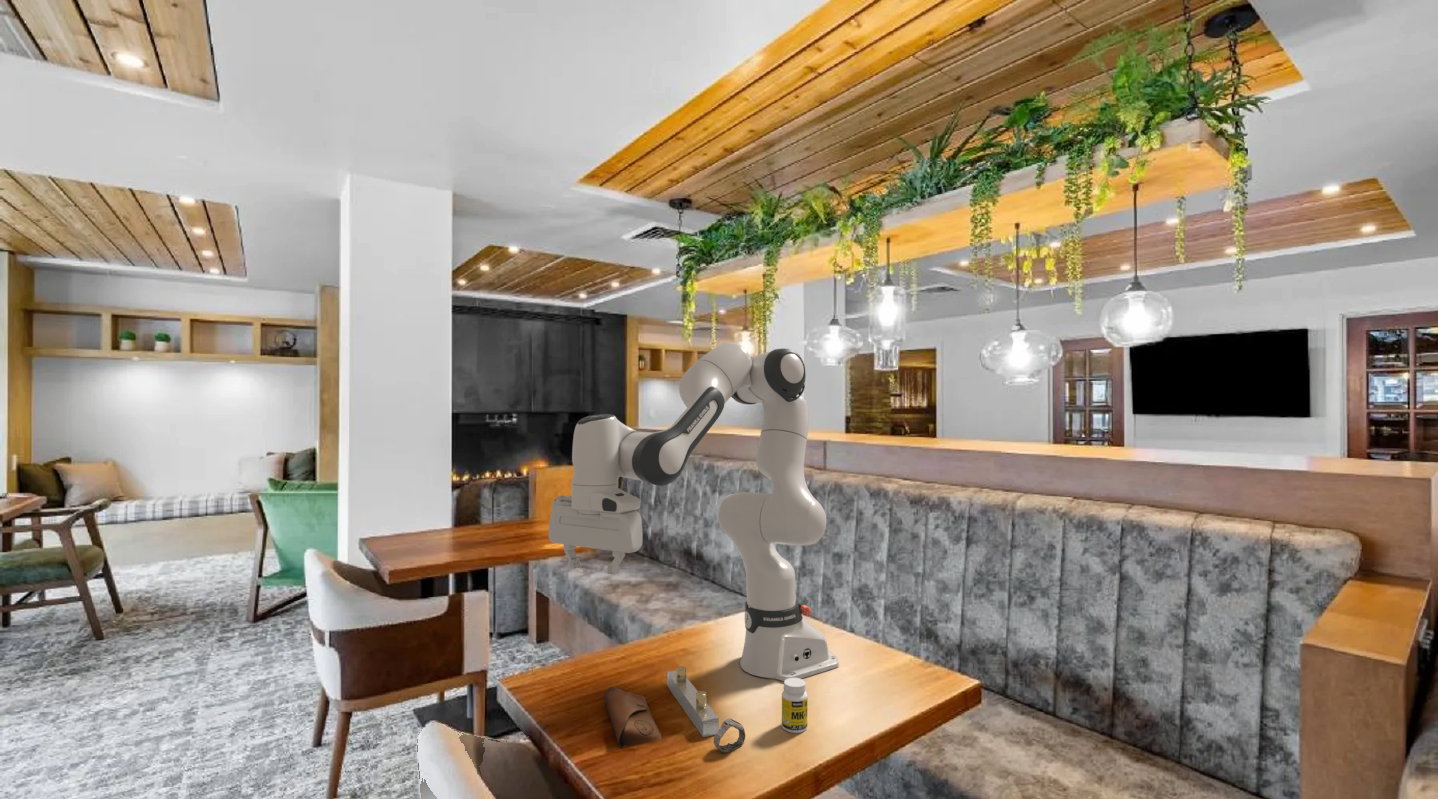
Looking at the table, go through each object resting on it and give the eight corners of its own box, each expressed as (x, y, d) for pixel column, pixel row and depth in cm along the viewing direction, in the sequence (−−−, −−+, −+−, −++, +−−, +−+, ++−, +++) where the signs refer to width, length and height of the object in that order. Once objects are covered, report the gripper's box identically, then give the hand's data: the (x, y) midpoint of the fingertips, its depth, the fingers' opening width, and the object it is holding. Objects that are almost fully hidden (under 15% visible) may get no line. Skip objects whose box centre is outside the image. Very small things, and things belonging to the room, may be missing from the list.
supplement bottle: (791, 736, 117) (791, 690, 117) (776, 724, 121) (776, 679, 121) (812, 729, 119) (812, 684, 119) (797, 718, 123) (797, 674, 123)
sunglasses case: (666, 739, 116) (647, 710, 114) (633, 766, 114) (613, 737, 113) (644, 695, 133) (628, 669, 131) (615, 717, 131) (598, 692, 130)
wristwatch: (749, 746, 113) (749, 718, 113) (721, 759, 110) (721, 729, 110) (736, 738, 116) (736, 710, 116) (708, 750, 112) (708, 721, 112)
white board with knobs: (680, 683, 138) (680, 658, 138) (718, 734, 118) (718, 704, 117) (667, 686, 137) (667, 660, 137) (703, 737, 116) (703, 707, 116)
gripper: (541, 496, 126) (540, 567, 126) (628, 504, 117) (627, 581, 117) (563, 493, 132) (562, 561, 132) (647, 500, 123) (646, 573, 122)
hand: (593, 570), depth 124 cm, fingers open, 8 cm apart
